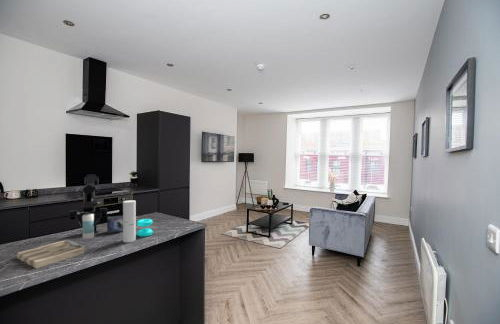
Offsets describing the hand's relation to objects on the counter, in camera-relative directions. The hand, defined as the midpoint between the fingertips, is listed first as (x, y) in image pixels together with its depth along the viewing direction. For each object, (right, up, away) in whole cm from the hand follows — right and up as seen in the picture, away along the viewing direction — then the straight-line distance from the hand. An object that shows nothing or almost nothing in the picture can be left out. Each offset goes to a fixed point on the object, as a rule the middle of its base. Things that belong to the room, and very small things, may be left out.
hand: (88, 226), depth 136 cm
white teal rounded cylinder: (-1, -7, +1) cm, 7 cm away
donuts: (+20, -13, +28) cm, 37 cm away
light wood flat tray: (-14, -13, -8) cm, 21 cm away
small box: (-3, -13, +33) cm, 36 cm away
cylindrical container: (+15, -13, +17) cm, 26 cm away
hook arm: (-10, -10, +1) cm, 14 cm away
